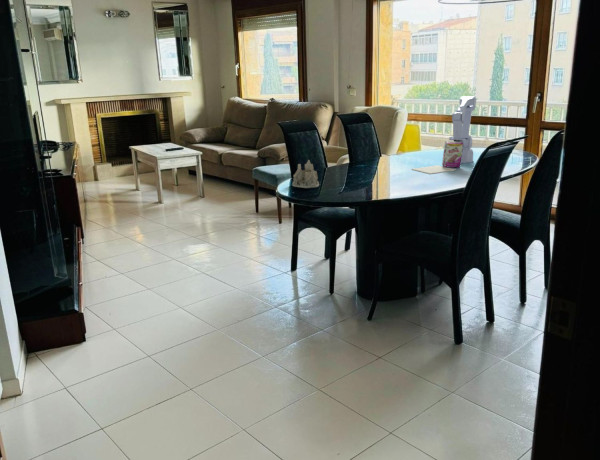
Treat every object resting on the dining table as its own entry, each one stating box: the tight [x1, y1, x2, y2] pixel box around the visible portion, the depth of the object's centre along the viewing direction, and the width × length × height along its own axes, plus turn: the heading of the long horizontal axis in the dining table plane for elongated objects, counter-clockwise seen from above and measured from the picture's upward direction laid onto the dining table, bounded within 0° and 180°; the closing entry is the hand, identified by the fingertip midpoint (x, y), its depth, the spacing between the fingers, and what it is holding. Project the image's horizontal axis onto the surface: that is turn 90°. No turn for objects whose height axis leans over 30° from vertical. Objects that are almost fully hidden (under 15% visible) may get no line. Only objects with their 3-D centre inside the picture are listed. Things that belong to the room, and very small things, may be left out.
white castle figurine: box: [291, 159, 320, 189], centre depth 326 cm, size 16×16×15 cm
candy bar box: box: [441, 140, 463, 168], centre depth 351 cm, size 11×5×16 cm, turn 84°
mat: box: [411, 164, 457, 175], centre depth 351 cm, size 20×20×1 cm
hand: (457, 152), depth 354 cm, fingers closed
